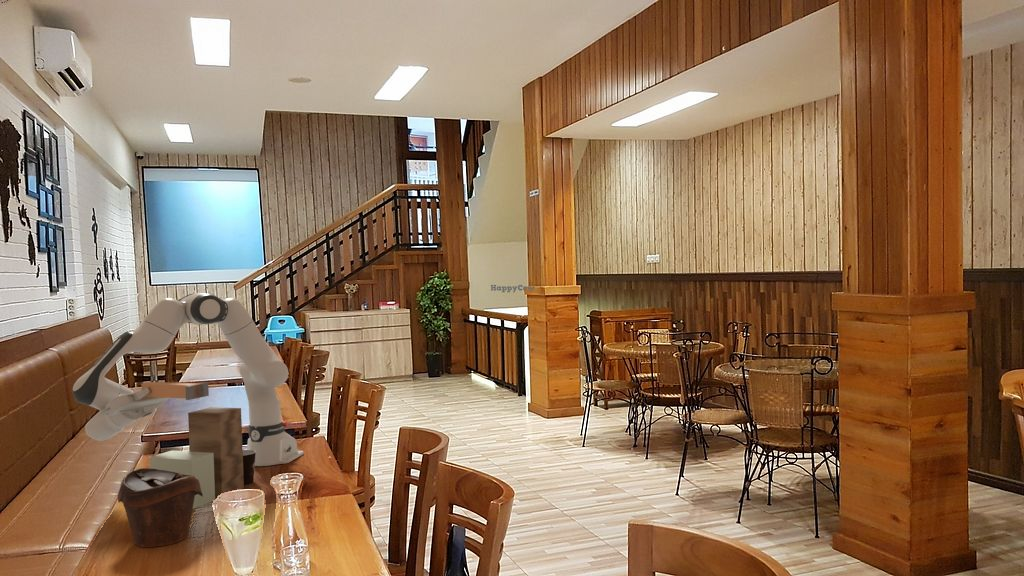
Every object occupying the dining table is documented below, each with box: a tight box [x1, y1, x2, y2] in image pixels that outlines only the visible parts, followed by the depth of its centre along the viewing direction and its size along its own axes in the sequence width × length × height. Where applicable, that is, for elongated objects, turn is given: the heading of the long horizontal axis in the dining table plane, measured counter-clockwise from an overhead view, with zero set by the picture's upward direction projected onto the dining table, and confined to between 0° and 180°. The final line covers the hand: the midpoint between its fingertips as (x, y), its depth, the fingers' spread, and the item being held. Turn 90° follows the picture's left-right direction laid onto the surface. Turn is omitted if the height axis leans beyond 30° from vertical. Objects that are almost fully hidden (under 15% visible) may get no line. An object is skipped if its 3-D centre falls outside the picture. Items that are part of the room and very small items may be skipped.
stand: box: [187, 406, 245, 498], centre depth 230 cm, size 10×12×26 cm
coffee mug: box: [243, 449, 256, 486], centre depth 242 cm, size 12×9×10 cm
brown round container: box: [117, 467, 203, 549], centre depth 188 cm, size 18×20×18 cm
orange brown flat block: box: [141, 381, 210, 401], centre depth 220 cm, size 8×20×4 cm, turn 71°
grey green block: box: [148, 449, 216, 510], centre depth 220 cm, size 9×16×14 cm, turn 71°
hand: (156, 388), depth 222 cm, fingers closed on orange brown flat block, 4 cm apart
